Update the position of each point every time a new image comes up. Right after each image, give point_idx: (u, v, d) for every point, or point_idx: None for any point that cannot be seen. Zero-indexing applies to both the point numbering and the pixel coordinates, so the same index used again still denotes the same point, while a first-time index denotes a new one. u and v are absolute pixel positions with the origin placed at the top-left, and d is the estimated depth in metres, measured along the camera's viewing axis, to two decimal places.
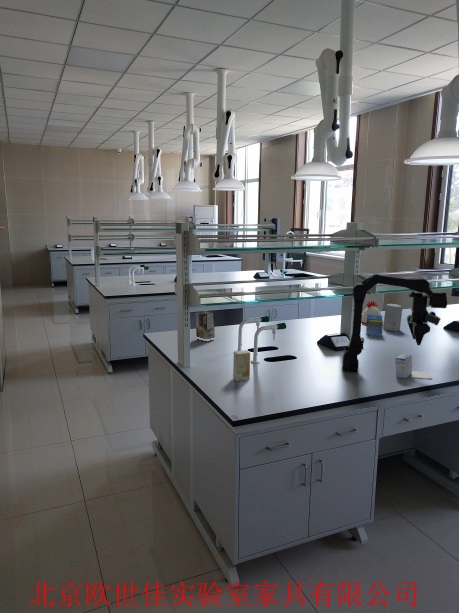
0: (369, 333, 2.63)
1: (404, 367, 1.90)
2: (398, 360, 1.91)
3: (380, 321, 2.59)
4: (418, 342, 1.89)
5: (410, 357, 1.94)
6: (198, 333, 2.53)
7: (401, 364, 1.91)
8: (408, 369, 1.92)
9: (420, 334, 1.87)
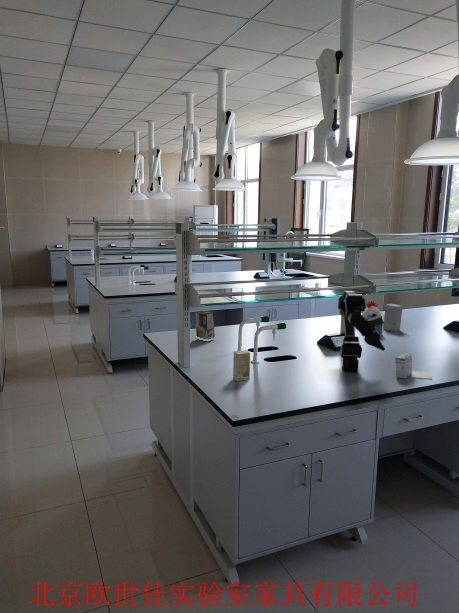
0: None
1: (404, 367, 1.90)
2: (398, 360, 1.91)
3: None
4: (381, 348, 1.89)
5: (410, 357, 1.94)
6: (198, 333, 2.53)
7: (401, 364, 1.91)
8: (408, 369, 1.92)
9: (376, 341, 1.88)
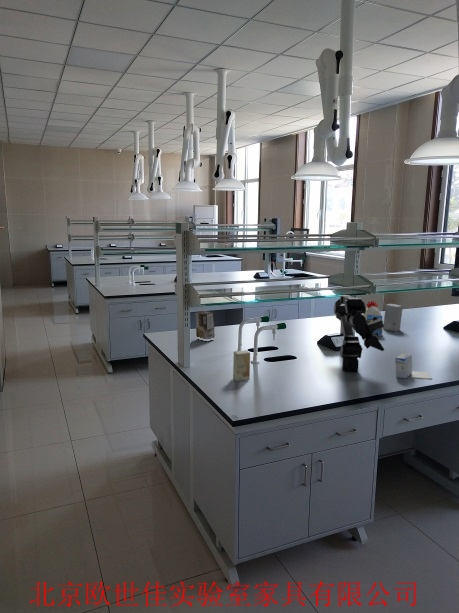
0: None
1: (404, 367, 1.90)
2: (398, 360, 1.91)
3: None
4: (381, 348, 1.94)
5: (410, 357, 1.94)
6: (198, 333, 2.53)
7: (401, 364, 1.91)
8: (408, 369, 1.92)
9: (375, 342, 1.93)
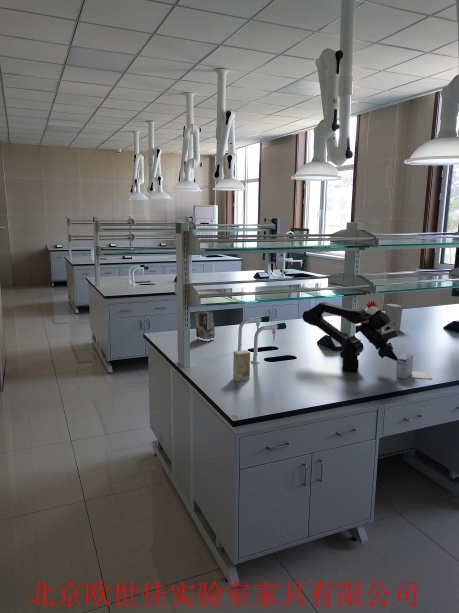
0: None
1: (405, 368, 1.90)
2: (400, 361, 1.90)
3: None
4: (394, 358, 1.93)
5: (411, 358, 1.93)
6: (198, 333, 2.53)
7: (402, 365, 1.90)
8: (408, 370, 1.92)
9: (389, 352, 1.93)
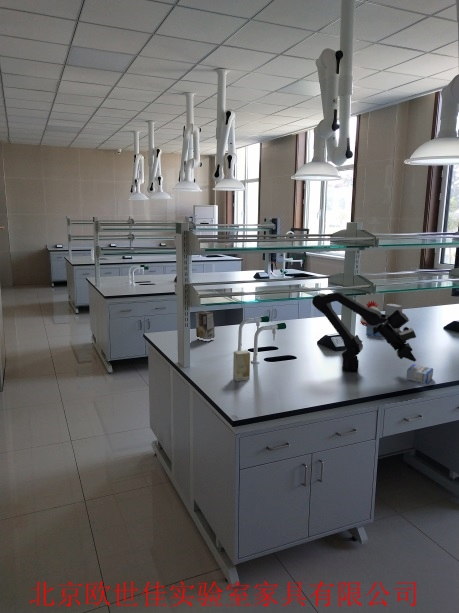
0: (369, 333, 2.63)
1: (418, 380, 1.87)
2: (425, 377, 1.85)
3: None
4: (412, 359, 1.92)
5: None
6: (198, 333, 2.53)
7: (421, 378, 1.86)
8: None
9: None
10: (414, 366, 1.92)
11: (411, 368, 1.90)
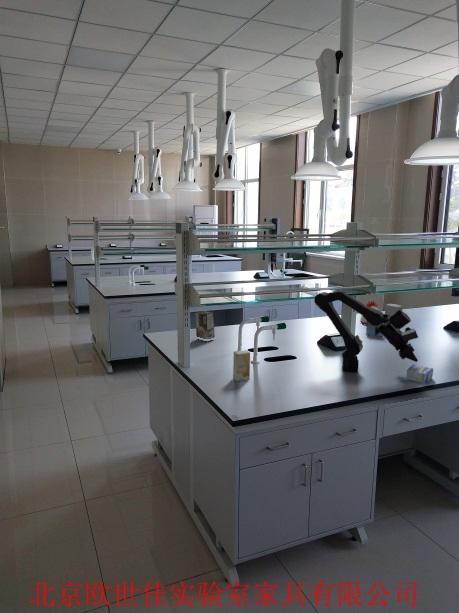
0: (369, 333, 2.63)
1: (418, 380, 1.87)
2: (425, 377, 1.85)
3: None
4: (414, 359, 1.92)
5: None
6: (198, 333, 2.53)
7: (421, 378, 1.86)
8: None
9: None
10: (414, 366, 1.92)
11: (411, 368, 1.90)
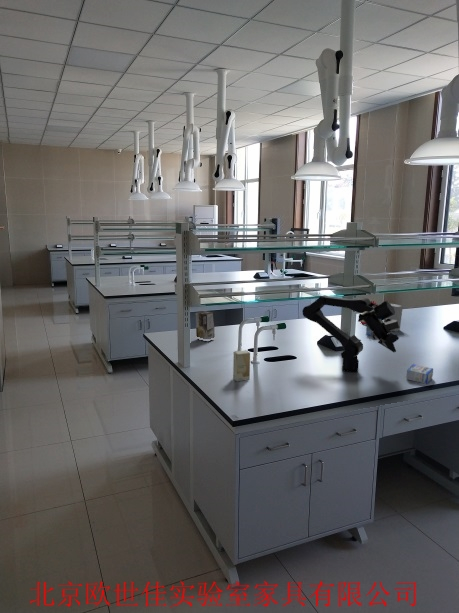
0: (369, 333, 2.63)
1: (418, 380, 1.87)
2: (425, 377, 1.85)
3: None
4: (393, 350, 1.95)
5: None
6: (198, 333, 2.53)
7: (421, 378, 1.86)
8: None
9: None
10: (414, 366, 1.92)
11: (411, 368, 1.90)
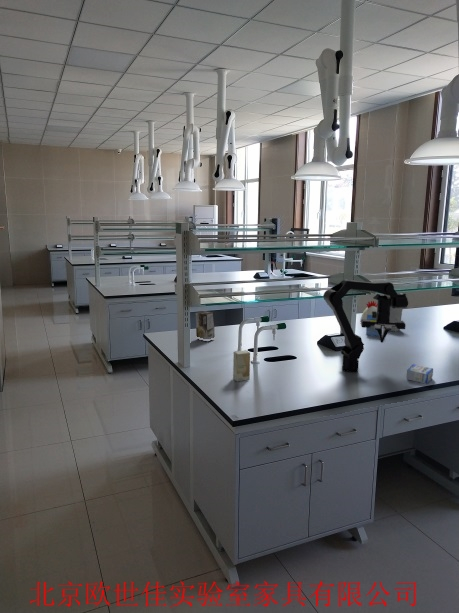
0: (369, 333, 2.63)
1: (418, 380, 1.87)
2: (425, 377, 1.85)
3: None
4: None
5: None
6: (198, 333, 2.53)
7: (421, 378, 1.86)
8: None
9: None
10: (414, 366, 1.92)
11: (411, 368, 1.90)
